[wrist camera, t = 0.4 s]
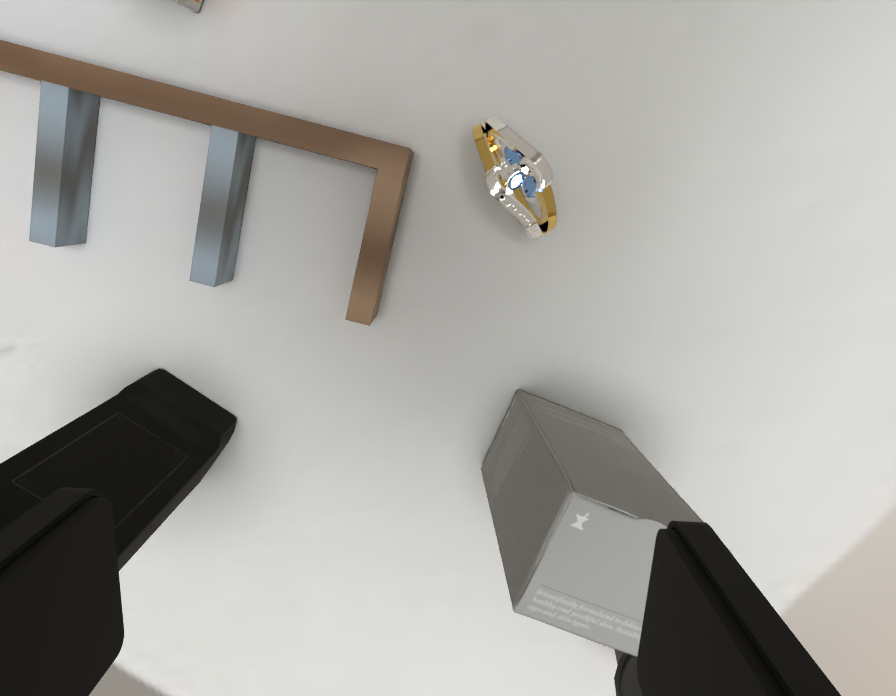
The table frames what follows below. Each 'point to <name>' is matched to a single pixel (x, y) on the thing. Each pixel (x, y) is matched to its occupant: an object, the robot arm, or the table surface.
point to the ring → (516, 175)
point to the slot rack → (227, 169)
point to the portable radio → (125, 457)
